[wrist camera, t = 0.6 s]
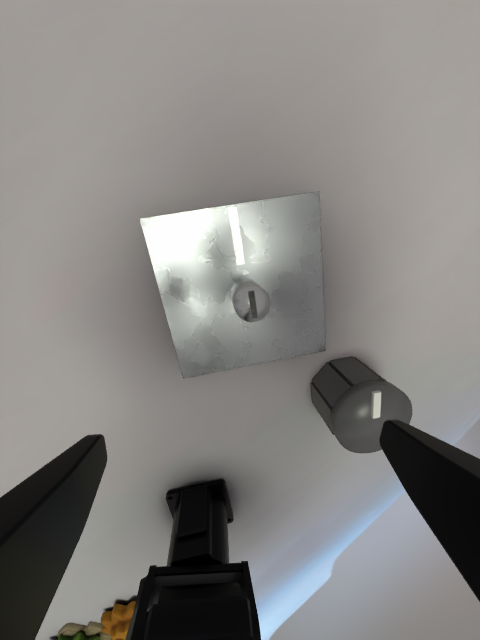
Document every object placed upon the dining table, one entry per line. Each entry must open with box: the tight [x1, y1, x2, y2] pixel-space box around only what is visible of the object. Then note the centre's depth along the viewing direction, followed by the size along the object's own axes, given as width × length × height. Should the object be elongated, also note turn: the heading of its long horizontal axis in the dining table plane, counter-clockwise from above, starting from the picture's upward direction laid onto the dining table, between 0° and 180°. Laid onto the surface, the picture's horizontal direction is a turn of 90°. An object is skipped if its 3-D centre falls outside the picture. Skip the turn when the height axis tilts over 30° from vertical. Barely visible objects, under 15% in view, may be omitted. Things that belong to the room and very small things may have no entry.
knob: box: [311, 357, 412, 453], centre depth 21 cm, size 7×7×5 cm
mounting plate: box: [140, 191, 326, 378], centre depth 17 cm, size 13×13×5 cm
